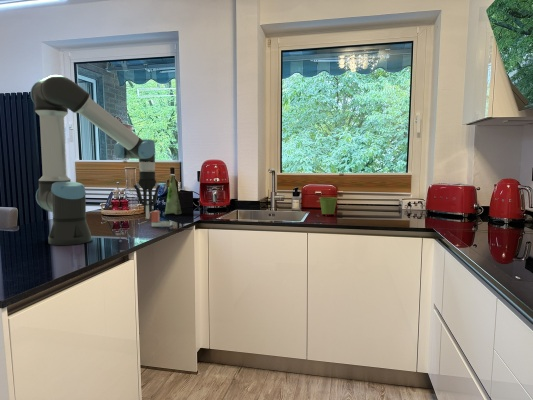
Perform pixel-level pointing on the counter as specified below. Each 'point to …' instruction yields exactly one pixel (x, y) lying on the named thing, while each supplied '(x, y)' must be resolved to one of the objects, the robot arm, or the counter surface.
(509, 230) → the counter surface
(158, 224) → the console
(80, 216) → the robot arm
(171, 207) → the pouch
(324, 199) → the plant pot
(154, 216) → the block
